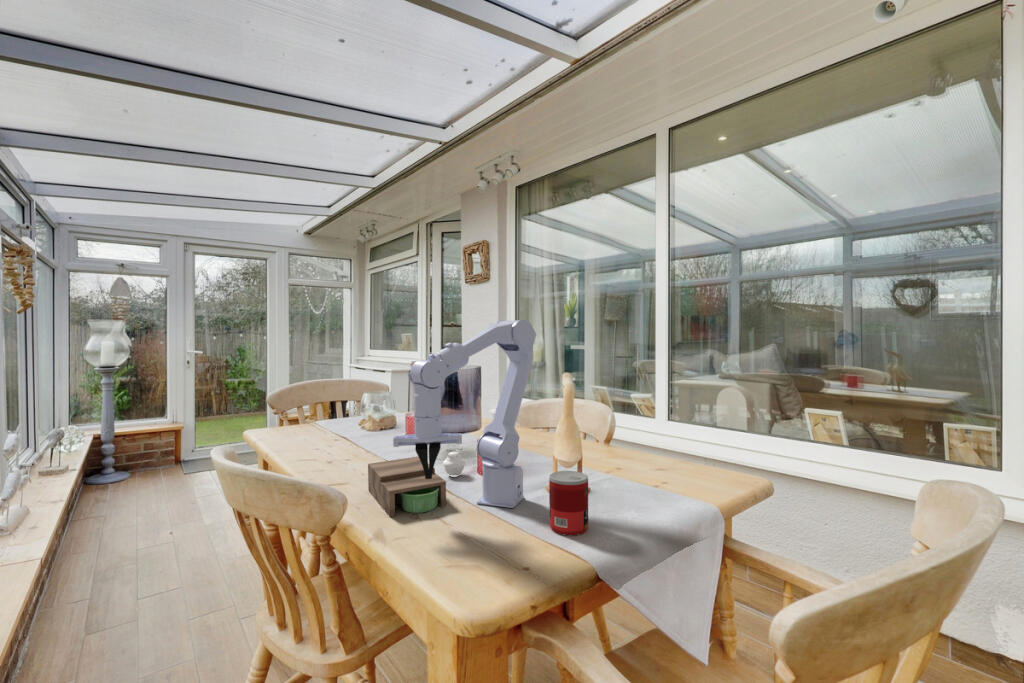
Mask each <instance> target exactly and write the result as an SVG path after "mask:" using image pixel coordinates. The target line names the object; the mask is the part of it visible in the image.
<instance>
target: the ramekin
mask: <svg viewBox="0 0 1024 683" xmlns="http://www.w3.org/2000/svg"><path fill="white" fill-rule="evenodd" d="M438 491H439V486H435V487H429V488H424V489H419V490H413V491H408V492H402V493H400V494H401V499H402V503H401V508H402V509H403V510H404V511H405V512H407V513H411V514H418V513H419V514H422V513H426V512H430V511H432V510H435V508H437V506H438V503H437V500H438Z"/></svg>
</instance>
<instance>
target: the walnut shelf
mask: <svg viewBox="0 0 1024 683" xmlns="http://www.w3.org/2000/svg"><path fill="white" fill-rule="evenodd" d="M428 468H429V463H428ZM435 468H436V467H434V468H433V472H432V479H425V473H424V469H423V466H422V463H421V461H420V459H419V457H418V456H412V457H405V458H399V459H392V460H384V461H379V462H373V463H371V462H370V463H368V464H367V476H368V479H367V480H368V482H367V485H368V492H369V493H370V494H371V496H372V497H373V498H374V499H375V501H376V502H377V504H379V506H380V508H381V509H382V510H385V511H384V512H385V513H386V515H389V516H388V517H389V518H392V517H391V516H393V517H395V516H396V506H398V504H402V499H401V494H400V493H402V492H408V491H413V490H419V489H424V488H429V487H435V486H439V491H438V500H437V505H439V506H440V507H445V506H447V481H446V480H445V479H443V478H442V477H441V476H439V475H438V474H437V473H436V470H435Z"/></svg>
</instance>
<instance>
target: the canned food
mask: <svg viewBox="0 0 1024 683" xmlns="http://www.w3.org/2000/svg"><path fill="white" fill-rule="evenodd" d="M548 479H549V480H548V481H549V485H548V487H549V491H548V494H549V496H548V497H549V504H548V505H549V526H550V529H551V531H553V532H554V533H556V534H558V533H559V534H558V535H561V534H565V535H564V536H568V535H573V536H578V535H577V534H580V535H582V533H583V534H584V533H586V532H587V531H588V528H589V476H588V475H587V474H585V473H584V472H582V471H581V472H580V471H575V470H574V471H573V470H559V471H555V472H552V473H550V474H549V478H548ZM586 530H587V531H586ZM585 531H586V532H585Z"/></svg>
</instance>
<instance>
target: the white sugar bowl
mask: <svg viewBox="0 0 1024 683" xmlns="http://www.w3.org/2000/svg"><path fill="white" fill-rule="evenodd" d="M442 465H443V467H444V470H445V472H446V474H447V475H448V474H449V475H459V474H460V475H461V474H462V472H463V470H464V468H465V465H466V461H465V460H464V459H463V457H461V453H460V452H458V451H451V452H449V453H448V454H447V457H446V459H444V461H443V463H442Z"/></svg>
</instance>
